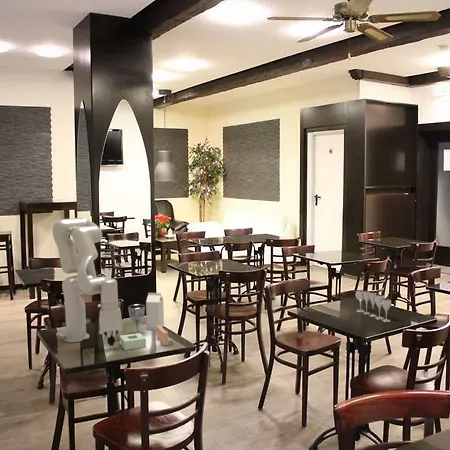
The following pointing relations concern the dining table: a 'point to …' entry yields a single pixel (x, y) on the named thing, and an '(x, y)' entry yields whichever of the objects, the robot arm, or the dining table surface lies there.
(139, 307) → the wine glass
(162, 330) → the orange rectangular block
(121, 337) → the tissue box
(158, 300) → the milk carton
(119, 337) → the dowel
